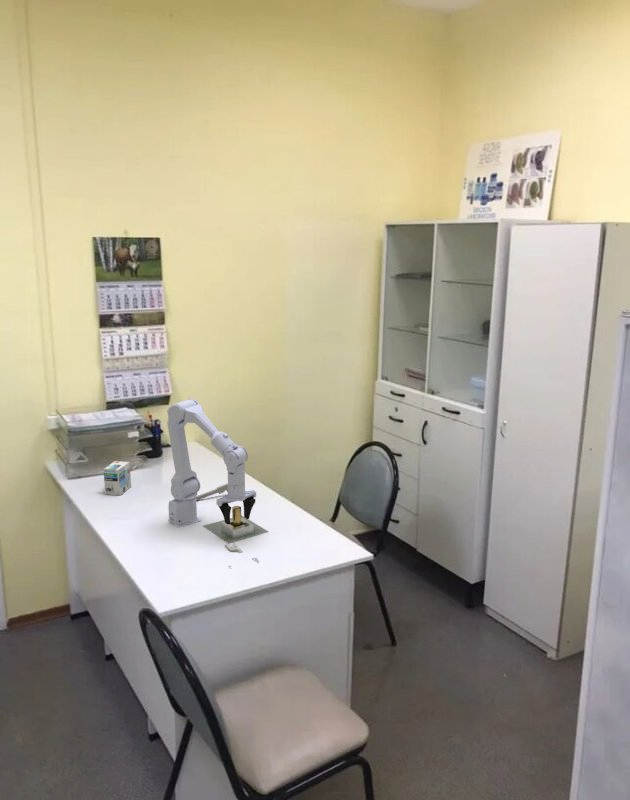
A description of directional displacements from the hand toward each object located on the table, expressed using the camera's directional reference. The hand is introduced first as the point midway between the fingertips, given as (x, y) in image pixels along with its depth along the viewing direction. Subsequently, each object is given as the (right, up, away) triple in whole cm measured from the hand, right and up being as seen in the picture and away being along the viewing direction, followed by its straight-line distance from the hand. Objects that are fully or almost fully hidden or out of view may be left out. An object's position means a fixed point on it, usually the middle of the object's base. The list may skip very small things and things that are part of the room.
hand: (237, 520), depth 233 cm
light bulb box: (-52, +5, +41) cm, 66 cm away
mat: (-1, -4, +4) cm, 6 cm away
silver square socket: (0, -4, +1) cm, 4 cm away
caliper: (-14, +2, +33) cm, 36 cm away
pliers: (+2, -9, -15) cm, 18 cm away
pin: (0, -4, +1) cm, 4 cm away
